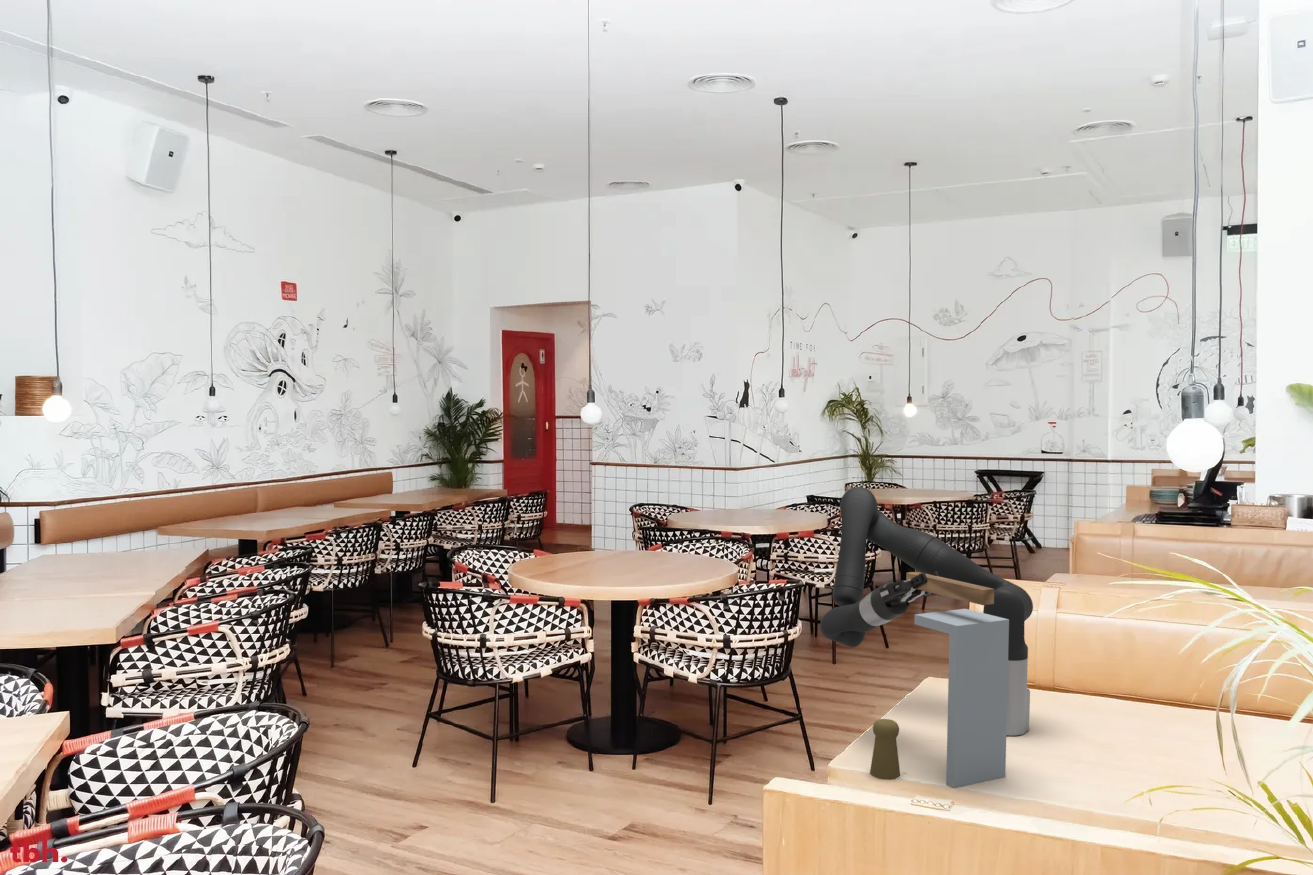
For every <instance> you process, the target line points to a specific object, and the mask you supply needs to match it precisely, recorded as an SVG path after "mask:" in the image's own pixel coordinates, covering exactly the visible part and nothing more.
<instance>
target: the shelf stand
mask: <svg viewBox="0 0 1313 875" xmlns="http://www.w3.org/2000/svg"><path fill="white" fill-rule="evenodd" d="M914 625H917V626H920V627H923V628H926V629H930V630H934V631H938V632H941V633H945V634H949V636H948V637H949V643H948V644H949V645H948V681H947V682H948V683H947V684H948V686H947V689H948V690H947V728H946V729H947V730H946V731H947V733H946V736H947V737H946V778H945V781H946V782H945V784H946V785H945V786H949V787H950V788H953V789H957V788H959V787H960V788H961V787H965V786H969V785H974V784H978V783H984V782H986V781H992V780H996V779H1000V778H1006V769H1007V767H1006V763H1007V760H1006V758H1007V735H1006V728H1007V686H1008V644H1009V619H1005V618H1001V617H997V616H993V615H989V614H985V613H983V612H979V611H976V610H972V609H969V608H961V609H952V610H944V611H943V610H942V611H933V612H926V613H925V612H924V613H917V614H914Z"/></svg>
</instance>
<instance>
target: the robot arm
mask: <svg viewBox="0 0 1313 875" xmlns="http://www.w3.org/2000/svg"><path fill="white" fill-rule="evenodd" d="M839 510H840V518H841V532H840V535H841V536H840V544H839V552H838V558H837V563H836V569H835V575H834V580H833V582H834V583H833V588H832V589H833V590H832V601H833V602H834V603H835V604H836V605H837V606H838V607H837V606H836V607H834V608H832V609H830V610H828V611H827V612H826V613H825V614H824V615H823V616H822V617H821V619H820V623H819V629H820V633H821V634H822V636H823V637H824V638H826V639H828V640H831V641H833V642H836V643H839V644H842V645H844V646H847V647H850V648H856V647H858V646H859V645H861V644H862V642H863V641H864V640H865V636H866V633H867V632H870V631H873V630H874V629H876V628H878V627H879V626H882V625H885V624H887V623H889V622H892V621H893V620H894V619H896V618H898V617H900V616H902V615H903V614H905V613H906V612H908V609H909V607H910V604H911V602H914V601H916V599H917V598H920V597H921V596H923V595H924V596H925V597H929V596H931V594H932V593H930V592H926V591H922V590H918V589H916V588H919V587H920V586H922V585H924V584H926V583H927V578H926V575H925V574H929V575H934V576H938V577H943V578H947V579H952V580H956V581H961V582H965V583H970V584H974V585H979V586H983V587H988V588H992V589H994V604H989V605H983V612H982V613H985V614H989V615H993V616H997V617H1001V618H1005V619H1009V644H1008V686H1007V728H1006V736H1009V737H1010V736H1011V737H1012V736H1022V735H1024V734H1026V733H1027V732H1028V731H1030V715H1031V714H1030V708H1031V706H1030V704H1031V703H1030V702H1031V690H1030V689H1029V688H1028V665H1029V664H1028V661H1029V660H1028V658H1029V647H1028V645H1027V644H1026V640H1025V639H1026V638H1025V622H1026V621H1027V620H1028V619H1029V618H1030V617H1031V615H1032V614H1033V610H1034V603H1033V600H1032V598H1031V595H1030V594H1029V593H1028V592H1027V591H1026V589H1024V588H1022V587H1021V586H1019V585H1017V584H1015V583H1014V582H1011V581H1009V580H1008V579H1005V578H1003V577H1001V576H999V575H996V574H994V573H992V572H990V571H988V570H987V569H985V568H984V567H982V566H980V565H979V564H977V563H976V562H975V561H973V560H971V559H970V558H968V557H967V556H966V555H964V554H963V553H962V552H959V551H958V550H956V549H954V548H953V547H952V546H950V545H949V544H947V543H945V541H942V540H941V539H939V538H937V537H936V536H934V535H932V534H930V533H928V532H925V531H922V530H920V529H919V530H918V529H914V528H909V527H906V526H904V525H903V526H902V525H900V524H898V523H897V522H895V521H893V520H892V519H891V518H889V517H887V516H886V515H885V514H883V513H882V512H881V511H880V510H879V508H878V501H877V498H876V496H875V495H874V493H873V492H872V491H870V489H868V488H866V487H863V486H862V487H861V486H855V487H852V488H850V489H848V490H846V492H844V494H843V495H842V497H841V499H840V503H839ZM868 541H869V542H872V543H873V544H875V545H877V546H879V547H881V548H882V549H884V550H886V551H887V552H889V553H890V554H891V555H893V556H894V557H895V558H897V559H899V560H900V561H902V562H904V563H905V564H906V565H908V566H910V567H911V568H913V569H914V570H915V571H916V572H921V573H920V574H919V575H917V576H915V577H914V578H912V579H907V580H899V581H897V582H894V581H890V582H889V581H888V582H885V583H884V584H882V585H881V586H878V587H877V588H875V589H874V590H872V591H871V592H869V593H868V594H866V595H865V596H864V597H863V595H864V587H865V586H864V585H865V579H866V559H867V558H866V557H867V556H866V555H867V554H866V553H867V552H866V551H867V542H868Z"/></svg>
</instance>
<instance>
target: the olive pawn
mask: <svg viewBox="0 0 1313 875" xmlns="http://www.w3.org/2000/svg"><path fill="white" fill-rule="evenodd" d="M872 731H873V735H874V736H875V738H874V744H873V745H874V746H873V750H872V757H871V763H870V768H869V774H870V775H871V776H872V777H873V778H876V779H880V780H897V779H898V778H897V777H899V776H900V777H901V769H900V762H899V761H900V760H899V752H898V744H897V737H898V735H899V732H900V726H899V724H898V723H897V721H895V720H892V719H889V718H888V719H887V718H880V719H876V720H875V721H874V723H873V725H872ZM900 777H899V778H900ZM896 778H897V779H896Z"/></svg>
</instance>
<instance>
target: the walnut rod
mask: <svg viewBox="0 0 1313 875" xmlns="http://www.w3.org/2000/svg"><path fill="white" fill-rule="evenodd" d="M920 573H921V572H918V571H909V572H906V578H905V579H906V580H907V579H912V578H914V577H915V576H917V575H919V574H920ZM925 575H926V578H927V583H926V584H924V585H922V586H920V587H919V588H916V589H918V590H922V591H926V592H930V593H931V594H935V595H939V596H943V597H948V598H951V599H955V600H961V601H964V602H967V603H973V604H975V605H976V604H977V605H980V606H984V605H989V604H994V589H992V588H988V587H983V586H979V585H974V584H970V583H965V582H961V581H956V580H952V579H947V578H943V577H938V576H934V575H929V574H925ZM906 580H905V581H906Z"/></svg>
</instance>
